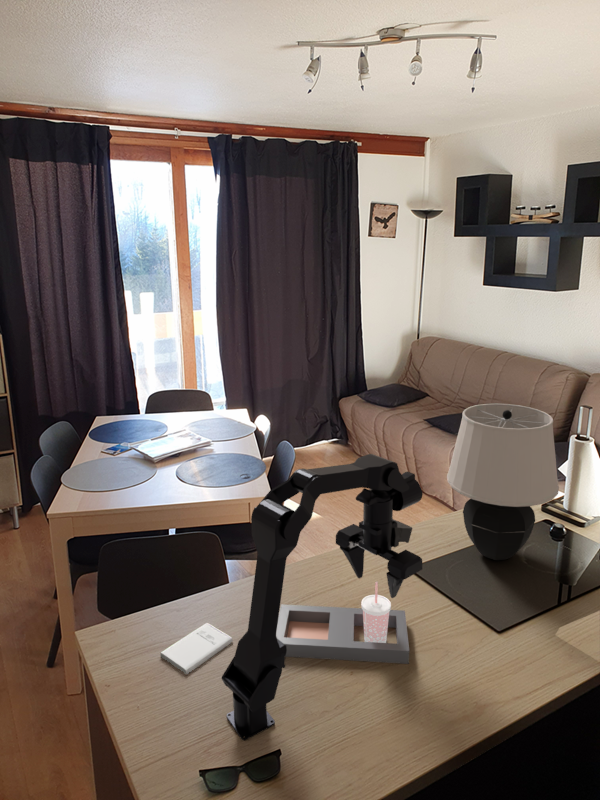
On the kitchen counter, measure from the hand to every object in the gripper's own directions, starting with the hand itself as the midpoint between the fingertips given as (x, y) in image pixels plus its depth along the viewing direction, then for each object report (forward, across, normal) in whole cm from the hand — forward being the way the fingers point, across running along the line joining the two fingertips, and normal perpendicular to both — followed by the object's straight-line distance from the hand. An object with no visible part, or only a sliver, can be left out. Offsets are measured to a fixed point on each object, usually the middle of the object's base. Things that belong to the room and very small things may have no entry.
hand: (376, 587), depth 121 cm
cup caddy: (+13, +5, +5) cm, 15 cm away
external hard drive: (+14, +22, +30) cm, 39 cm away
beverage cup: (+13, 0, 0) cm, 13 cm away
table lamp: (+13, +2, -49) cm, 50 cm away
